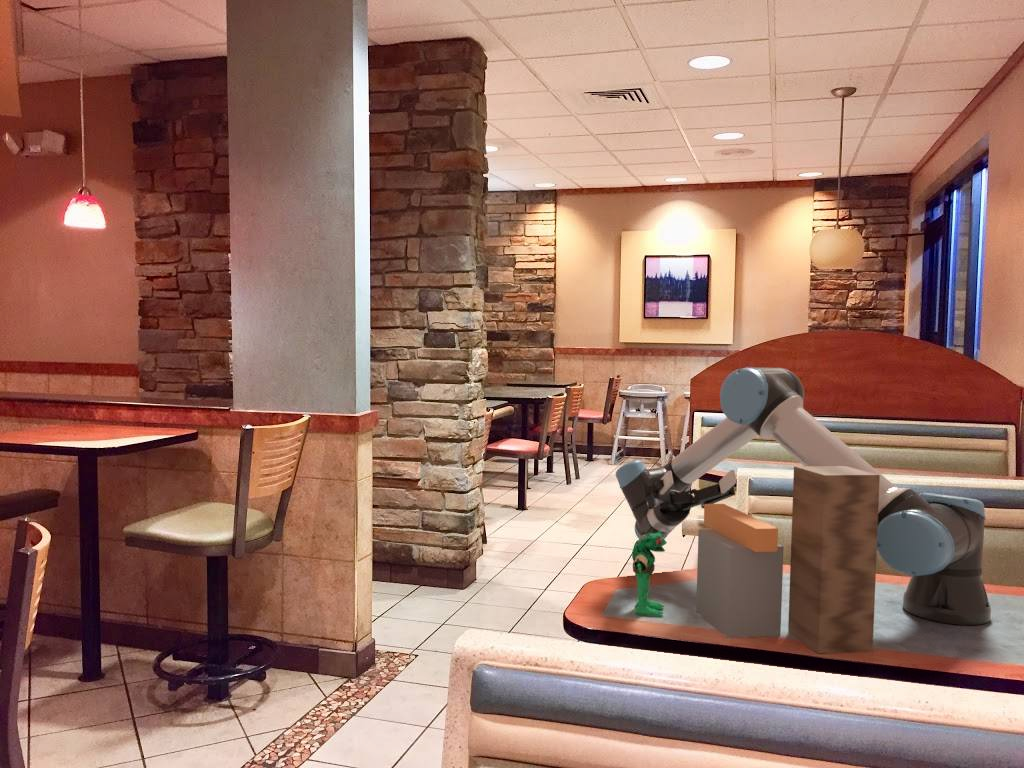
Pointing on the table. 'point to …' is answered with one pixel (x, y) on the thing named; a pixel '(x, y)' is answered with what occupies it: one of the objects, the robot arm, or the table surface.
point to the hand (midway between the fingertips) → (702, 476)
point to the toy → (646, 571)
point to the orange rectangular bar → (741, 527)
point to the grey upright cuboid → (738, 586)
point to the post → (833, 558)
